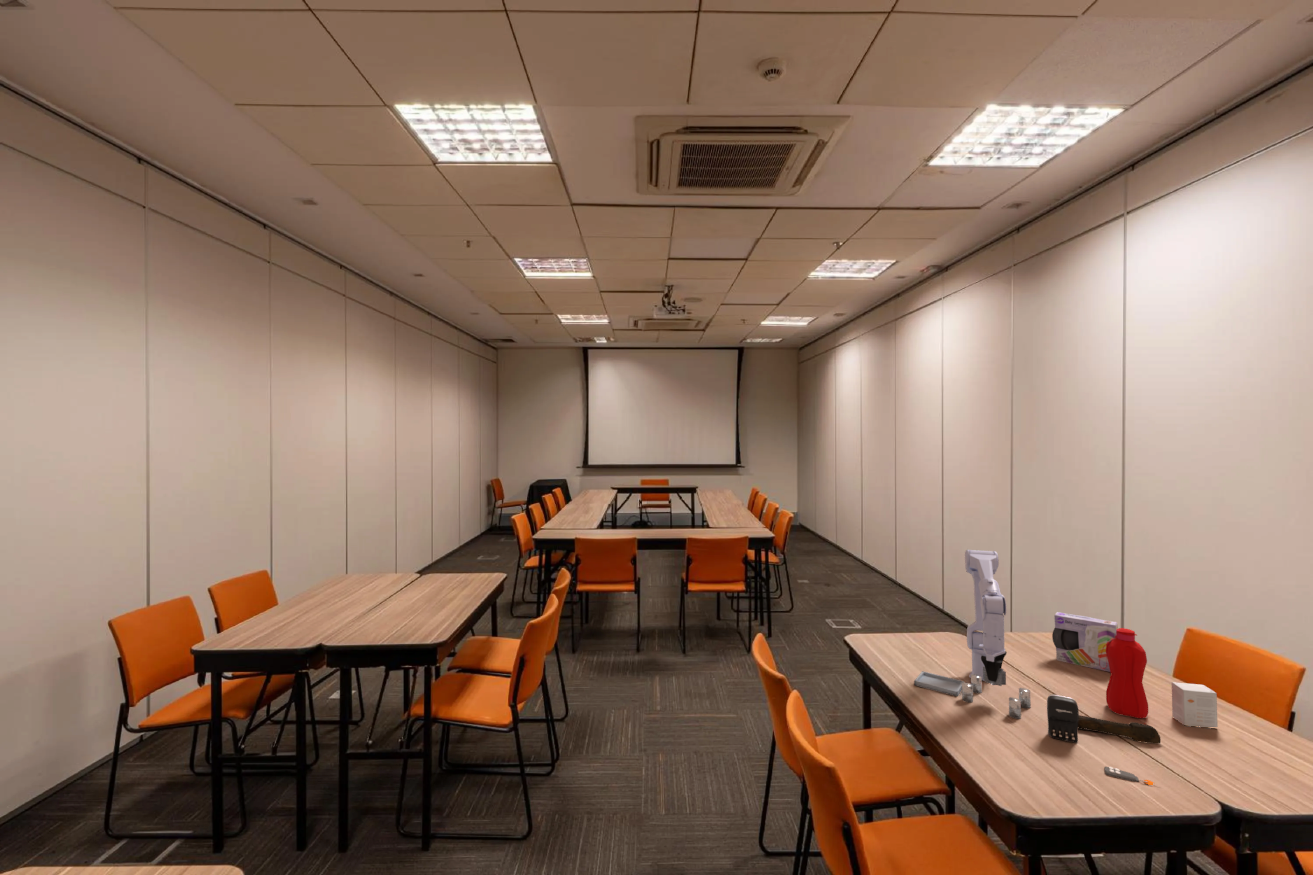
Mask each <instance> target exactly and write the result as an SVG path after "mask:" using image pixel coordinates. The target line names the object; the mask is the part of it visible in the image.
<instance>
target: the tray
mask: <svg viewBox="0 0 1313 875" xmlns="http://www.w3.org/2000/svg"><path fill="white" fill-rule="evenodd" d="M913 682H914V686H916V687H920V688H923V689H927V690H932V691H935V692H939V693H942V694H947V695H951V696H954V697H959V696H960V694H961V693H962V683H965V681H964V680H961V679H957V678H953V677H948V676H945V675H940V674H936V673H932V672H928V671H925V670H922V671H921V672H920V673H919V674H918V676H917V677H915V679H914V681H913Z"/></svg>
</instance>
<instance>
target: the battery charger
mask: <svg viewBox="0 0 1313 875" xmlns="http://www.w3.org/2000/svg"><path fill="white" fill-rule="evenodd" d="M1046 715H1047V716H1046V717H1047V734H1048V736H1049V737H1050V738H1052V739H1055V740H1059V741H1065V742H1069V743H1078V742H1079V741H1078V740H1079V739H1078V738H1079V735H1078V732H1079V731H1078V730H1079V728H1078V721H1079V715H1080V714H1079V706H1078V702H1077V701H1076V699H1074V698H1072V697H1070V696H1064V695H1059V694H1049V695H1048V696H1047V699H1046Z"/></svg>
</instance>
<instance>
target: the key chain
mask: <svg viewBox="0 0 1313 875" xmlns="http://www.w3.org/2000/svg"><path fill="white" fill-rule="evenodd" d="M1103 771H1104V774H1105V775H1106V776H1109V777H1113V778H1117V779H1122V780H1125V781H1129V782H1134V783H1135V782H1136V783H1139V782H1143V783H1144V784H1145V785H1147V784H1148V785H1147V786H1149V785H1153V783H1154V782H1153V781H1151V780H1149V779H1144V780H1142V779H1139V777H1138V776H1136V775H1135V774H1134V773H1133V772H1128V771H1124V770H1121V769H1119V768H1116V767H1115V768H1114V767H1113V766H1104V770H1103Z"/></svg>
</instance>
